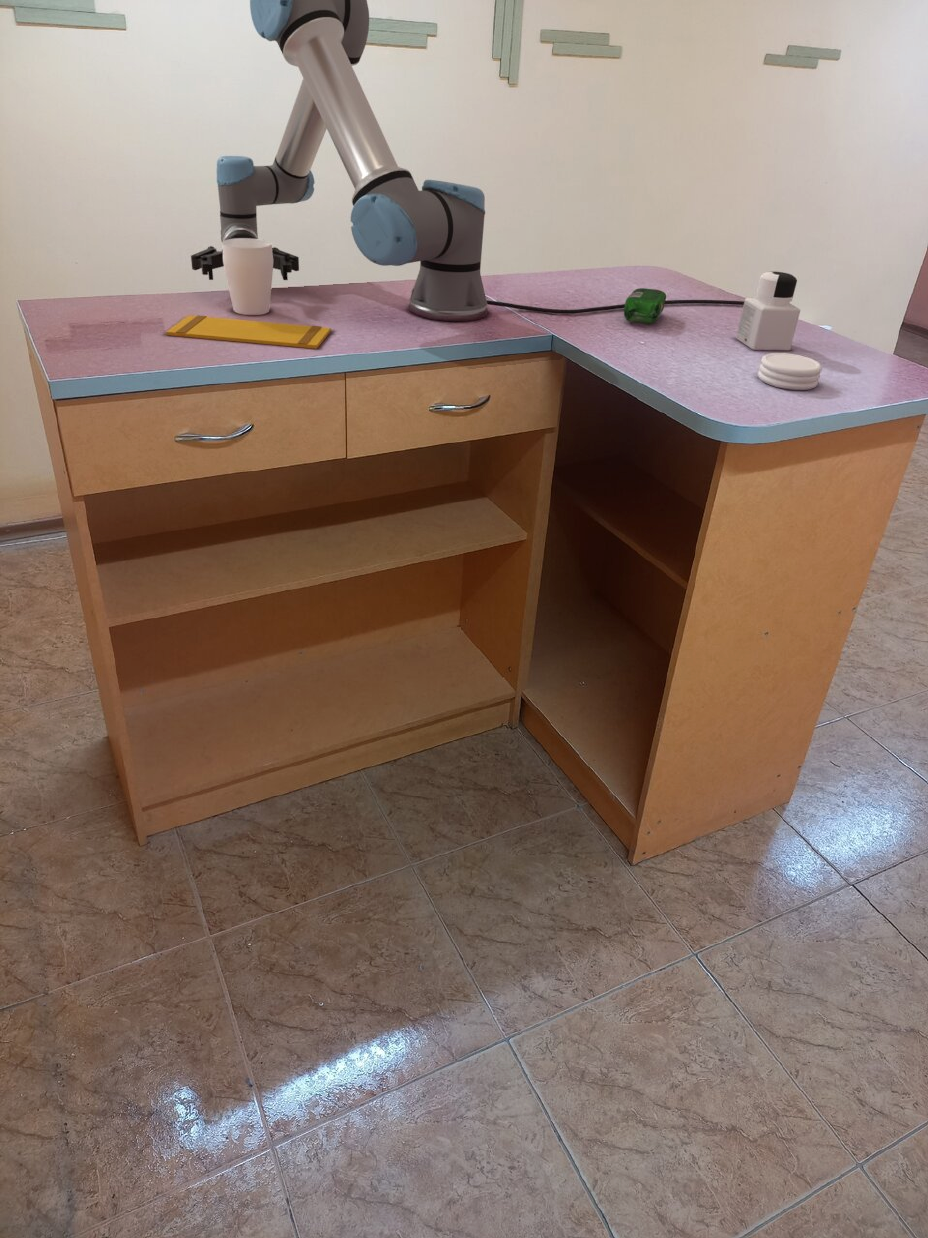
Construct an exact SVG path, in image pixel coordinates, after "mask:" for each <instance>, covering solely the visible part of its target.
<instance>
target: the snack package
mask: <svg viewBox="0 0 928 1238" xmlns="http://www.w3.org/2000/svg"><path fill="white" fill-rule="evenodd" d="M666 299H667V295H666V292H664V291H663V290H660V289H656V288H654V289H653V288H645V287H639V288H636V289H634V290H633V291H632V292H631V293H630V294H629V295H628V297H626V299H625V303H624V304H625V307H624V308H623V316H624V318H625V319H626V321H627V322H628V323H640V324H646V325H650V324H654V323H655V322H656V321H657V320H658V319H659V318H660V316H661V315H662V313H663V311H664V309H665V305H666V304H665V301H667V300H666Z"/></svg>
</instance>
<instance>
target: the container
mask: <svg viewBox="0 0 928 1238" xmlns="http://www.w3.org/2000/svg"><path fill="white" fill-rule="evenodd" d="M797 283H798V279H797V277H795V276H794V275H793V274H791V273H787V272H783V271H767V272H763V273H762V274H761V275H760V277H759V281H758V285H757V286H758V287H757V289H756V294H755V297H756V298H755V297H746V298H745V299H744V301H745V302H744V305H742V311H741V315H740V319H739V323H738V328H737V334H736V340H738V341H739V342H741V343H743V344H744V345H745V346H746V347H748V348H749V349H751V350H752V351H790V350H791V349H792V346H793V345H792V344H793V341H794V338H795V333H796V329H797V326H798V322H799V318H800V314H801V308H799V307H798V306H795V304H794V305H793V304H792V303H791V302H793V299H794V295H795V290H796V286H797Z"/></svg>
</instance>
